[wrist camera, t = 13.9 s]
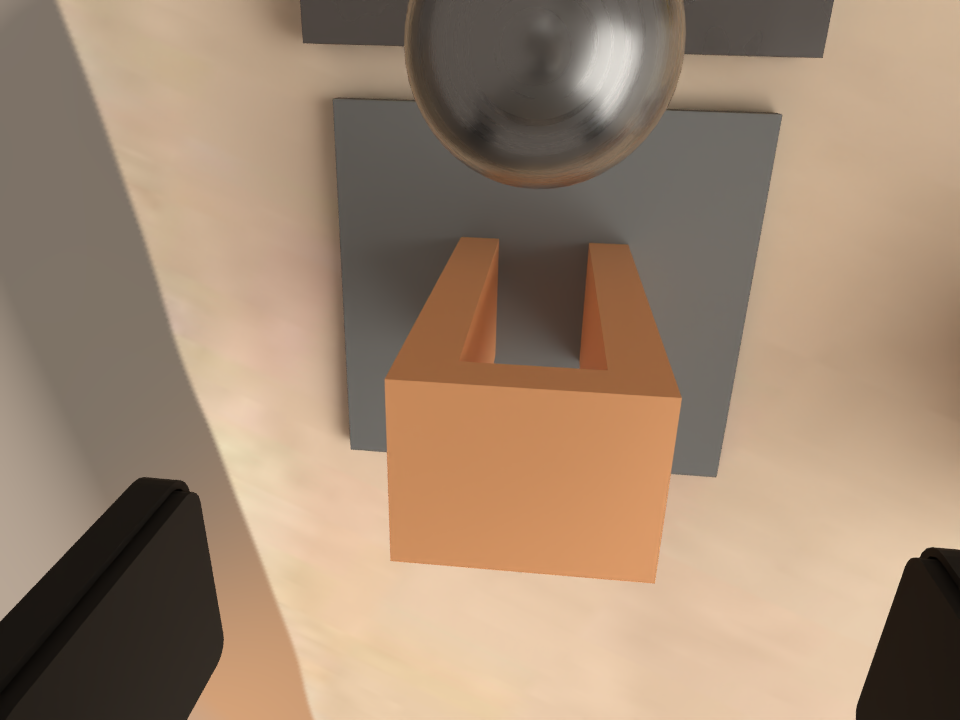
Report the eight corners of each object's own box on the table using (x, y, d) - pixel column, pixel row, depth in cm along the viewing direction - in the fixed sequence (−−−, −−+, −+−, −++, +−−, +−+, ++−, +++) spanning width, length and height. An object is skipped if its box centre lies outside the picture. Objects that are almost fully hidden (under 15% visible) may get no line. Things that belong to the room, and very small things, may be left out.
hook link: (461, 236, 23) (384, 379, 13) (628, 244, 22) (681, 398, 12) (459, 354, 24) (390, 560, 14) (615, 363, 24) (654, 583, 14)
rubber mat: (338, 97, 22) (332, 98, 22) (776, 112, 21) (782, 114, 20) (355, 441, 27) (350, 449, 26) (713, 468, 26) (716, 477, 25)
